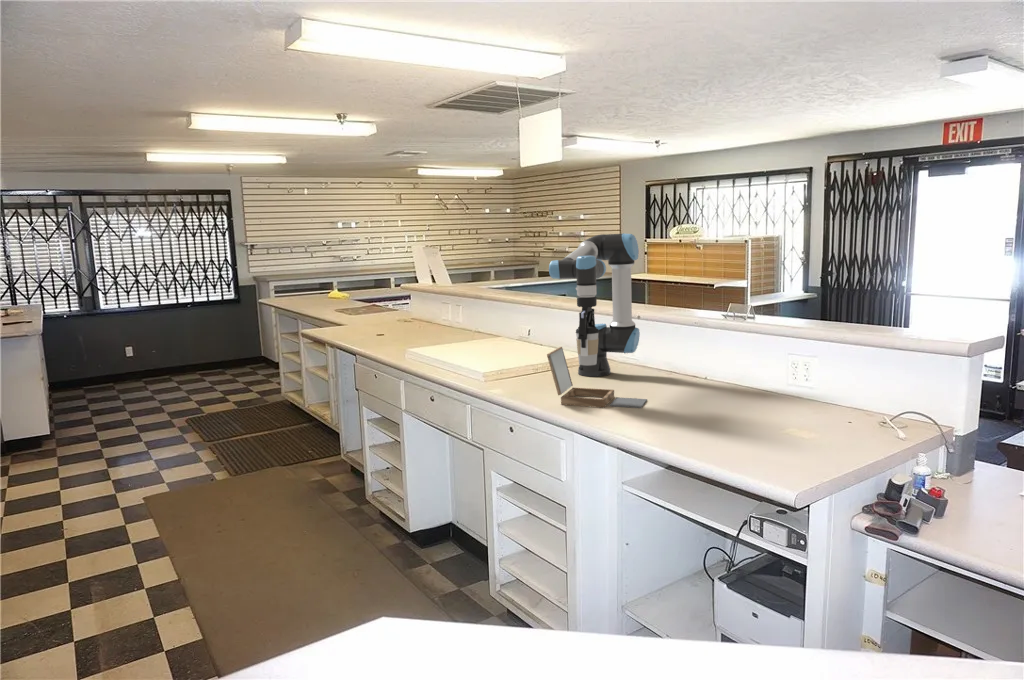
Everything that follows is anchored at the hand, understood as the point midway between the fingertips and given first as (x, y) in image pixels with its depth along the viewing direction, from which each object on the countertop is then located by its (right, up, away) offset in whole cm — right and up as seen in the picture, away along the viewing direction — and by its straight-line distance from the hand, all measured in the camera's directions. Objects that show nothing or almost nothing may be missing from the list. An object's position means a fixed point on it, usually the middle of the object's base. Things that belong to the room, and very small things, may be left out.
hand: (587, 353), depth 258 cm
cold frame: (+1, -19, +3) cm, 19 cm away
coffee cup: (0, -4, +1) cm, 4 cm away
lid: (-10, -7, +5) cm, 13 cm away
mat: (+15, -19, -3) cm, 25 cm away
